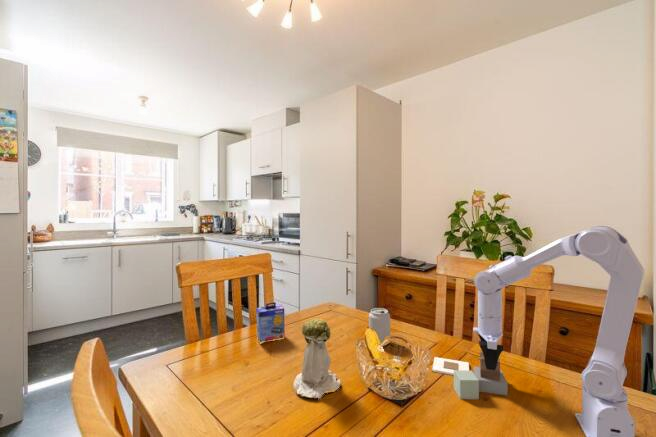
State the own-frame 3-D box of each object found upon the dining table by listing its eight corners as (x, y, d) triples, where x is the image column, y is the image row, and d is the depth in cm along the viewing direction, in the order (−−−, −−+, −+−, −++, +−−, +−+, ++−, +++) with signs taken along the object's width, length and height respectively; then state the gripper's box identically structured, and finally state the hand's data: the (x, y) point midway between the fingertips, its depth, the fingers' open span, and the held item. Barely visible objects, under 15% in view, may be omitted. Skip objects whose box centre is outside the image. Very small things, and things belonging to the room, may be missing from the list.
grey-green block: (478, 399, 78) (478, 380, 78) (460, 399, 79) (460, 380, 78) (471, 388, 83) (471, 370, 83) (453, 388, 83) (453, 370, 83)
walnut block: (500, 380, 81) (500, 361, 81) (480, 377, 83) (480, 358, 83) (498, 371, 85) (498, 353, 85) (479, 368, 87) (479, 351, 87)
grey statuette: (285, 385, 87) (283, 320, 86) (322, 369, 95) (320, 310, 94) (308, 406, 77) (306, 334, 77) (347, 386, 85) (346, 321, 84)
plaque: (469, 378, 88) (469, 375, 88) (432, 371, 92) (432, 368, 92) (468, 364, 95) (468, 361, 95) (434, 358, 99) (434, 356, 99)
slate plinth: (507, 396, 80) (507, 383, 79) (477, 392, 82) (477, 379, 82) (501, 381, 86) (501, 369, 86) (473, 378, 88) (473, 366, 88)
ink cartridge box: (259, 345, 112) (258, 305, 111) (256, 339, 117) (255, 301, 116) (285, 339, 116) (284, 301, 115) (281, 334, 121) (280, 297, 120)
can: (390, 348, 107) (389, 314, 106) (368, 347, 108) (368, 313, 108) (390, 339, 114) (390, 307, 114) (370, 338, 116) (369, 306, 115)
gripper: (472, 304, 91) (472, 349, 92) (474, 322, 78) (474, 374, 79) (499, 307, 89) (499, 353, 89) (506, 325, 75) (506, 380, 76)
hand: (489, 363), depth 84 cm, fingers open, 5 cm apart
